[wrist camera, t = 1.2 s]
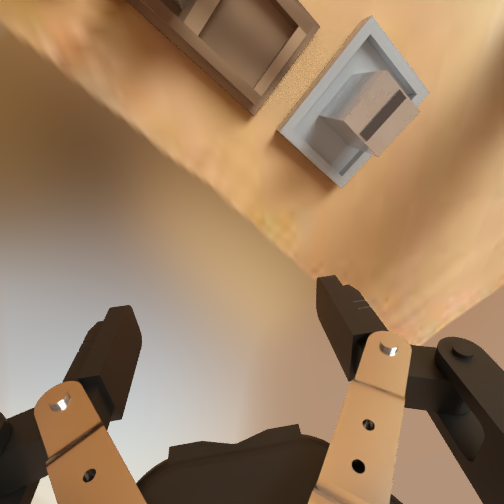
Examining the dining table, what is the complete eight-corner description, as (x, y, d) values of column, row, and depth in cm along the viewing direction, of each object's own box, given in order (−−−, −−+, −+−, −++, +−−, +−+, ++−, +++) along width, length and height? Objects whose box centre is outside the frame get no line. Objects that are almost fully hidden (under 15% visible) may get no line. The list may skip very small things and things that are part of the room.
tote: (362, 19, 30) (371, 15, 28) (418, 92, 33) (429, 92, 32) (276, 129, 33) (279, 131, 32) (335, 183, 37) (341, 188, 36)
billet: (352, 74, 31) (387, 69, 25) (381, 108, 33) (421, 111, 27) (318, 115, 33) (344, 120, 26) (348, 145, 34) (378, 157, 28)
